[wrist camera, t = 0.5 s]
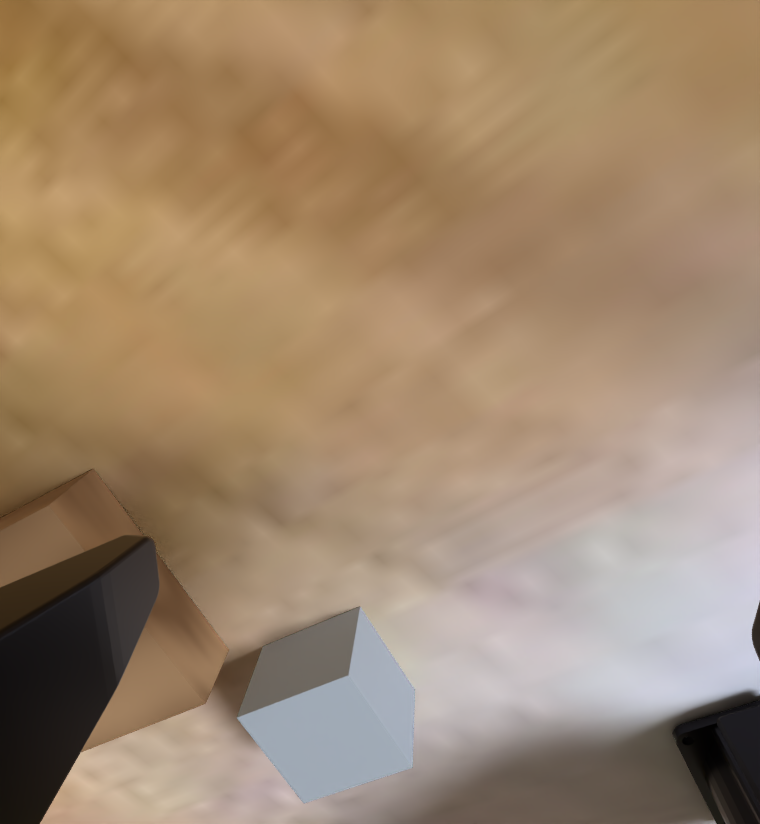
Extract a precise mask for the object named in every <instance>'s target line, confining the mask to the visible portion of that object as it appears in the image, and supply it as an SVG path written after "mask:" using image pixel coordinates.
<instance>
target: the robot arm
mask: <svg viewBox="0 0 760 824" xmlns="http://www.w3.org/2000/svg"><path fill="white" fill-rule="evenodd" d="M159 584H160V583H159V573H158V564H157V556H156V547H155V543H154V541H153V539H152V538H151V537H149V536H141V535H123V536H120V537H118V538H116V539H113V540H111V541H109V542H106V543H104V544H101V545H99V546H97V547H94V548H92V549H90V550H87V551H85V552H83V553H80V554H78V555H75V556H73V557H71V558H68V559H66V560H64V561H61V562H59V563H57V564H54V565H52V566H49V567H47V568H45V569H42V570H40V571H38V572H35V573H33V574H31V575H28V576H26V577H23V578H21V579H19V580H16V581H14V582H12V583H9V584H7V585H5V586H2V587H0V824H40V822H41V821H42V819H43V817H44V815H45V814H46V812H47V810H48V808H49V807H50V805H51V803H52V801H53V800H54V798H55V796H56V794H57V793H58V791H59V789H60V787H61V786H62V784H63V782H64V780H65V779H66V777H67V775H68V773H69V772H70V770H71V768H72V766H73V765H74V763H75V761H76V759H77V758H78V756H79V754H80V752H81V751H82V749H83V747H84V745H85V744H86V742H87V740H88V738H89V737H90V735H91V733H92V731H93V730H94V728H95V726H96V724H97V723H98V721H99V719H100V717H101V716H102V714H103V712H104V710H105V709H106V707H107V705H108V703H109V702H110V700H111V698H112V696H113V694H114V692H115V691H116V689H117V687H118V685H119V683H120V681H121V678H122V676H123V674H124V672H125V670H126V668H127V665H128V663H129V661H130V658H131V656H132V654H133V652H134V649H135V647H136V645H137V643H138V640H139V638H140V636H141V633H142V631H143V629H144V627H145V624H146V622H147V620H148V618H149V615H150V613H151V611H152V608H153V606H154V604H155V602H156V599H157V596H158V593H159ZM752 641H753V645H754V648H755V651H756V653H757V655H758V658H759V660H760V602H759V606H758V610H757V613H756V617H755V620H754V624H753V628H752ZM673 737H674V739H675V741H676V744H677V746H678V748H679V750H680V752H681V754H682V756H683V758H684V760H685V762H686V764H687V766H688V768H689V770H690V772H691V774H692V776H693V778H694V780H695V782H696V784H697V785H698V787H699V789H700V791H701V793H702V795H703V797H704V799H705V801H706V803H707V805H708V807H709V809H710V811H711V813H712V815H713V817H714V819H715V821H716V823H717V824H760V701H756V702H753V703H750V704H747V705H744V706H740V707H737V708H734V709H731V710H727V711H724V712H721V713H718V714H715V715H711V716H708V717H705V718H702V719H698V720H695V721H692V722H689V723H686V724H682V725H680V726H678V727H676V728H675V729H674V731H673Z"/></svg>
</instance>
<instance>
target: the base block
mask: <svg viewBox="0 0 760 824" xmlns="http://www.w3.org/2000/svg"><path fill="white" fill-rule="evenodd" d="M123 535H141V536H143V534H142V533H141V532H140V530H139V529H138V528H137V526H136V525H135V524H134V522H133V521H132V520H131V518H130V517H129V516H128V514H127V513H126V512H125V510H124V509H123V508H122V506H121V505H120V504H119V502H118V501H117V500H116V498H115V497H114V496H113V494H112V493H111V492H110V490H109V489H108V488H107V486H106V485H105V484H104V482H103V481H102V480H101V478H100V477H99V476H98V474H97V473H96V472H95V470H94V469H92V470H90V471H88V472H86V473H85V474H83V475H81V476H79V477H77V478H75V479H73V480H71V481H69V482H68V483H66V484H64V485H62V486H60V487H58V488H56V489H54V490H53V491H51V492H49V493H47V494H45V495H43V496H41V497H39V498H37V499H36V500H34V501H32V502H30V503H28V504H26V505H24V506H22V507H21V508H19V509H17V510H15V511H13V512H11V513H9V514H7V515H5V516H4V517H2V518H0V587H2V586H5V585H7V584H9V583H12V582H14V581H16V580H19V579H21V578H23V577H26V576H28V575H31V574H33V573H35V572H38V571H40V570H42V569H45V568H47V567H49V566H52V565H54V564H57V563H59V562H61V561H64V560H66V559H68V558H71V557H73V556H75V555H78V554H80V553H83V552H85V551H87V550H90V549H92V548H94V547H97V546H99V545H101V544H104V543H106V542H109V541H111V540H113V539H116V538H118V537H120V536H123ZM156 556H157V564H158V573H159V583H160V584H159V593H158V596H157V599H156V602H155V604H154V606H153V608H152V611H151V613H150V615H149V618H148V620H147V622H146V624H145V627H144V629H143V631H142V633H141V636H140V638H139V640H138V643H137V645H136V647H135V649H134V652H133V654H132V656H131V658H130V661H129V663H128V665H127V668H126V670H125V672H124V674H123V676H122V678H121V681H120V683H119V685H118V687H117V689H116V691H115V692H114V694H113V696H112V698H111V700H110V702H109V703H108V705H107V707H106V709H105V710H104V712H103V714H102V716H101V717H100V719H99V721H98V723H97V724H96V726H95V728H94V730H93V731H92V733H91V735H90V737H89V738H88V740H87V742H86V744H85V745H84V747H83V749H82V751H81V752H83V751H85V750H88V749H91V748H93V747H96V746H98V745H101V744H103V743H106V742H108V741H111V740H114V739H116V738H119V737H121V736H124V735H126V734H129V733H131V732H134V731H137V730H139V729H142V728H144V727H147V726H149V725H152V724H155V723H157V722H160V721H162V720H165V719H167V718H170V717H172V716H175V715H178V714H180V713H183V712H185V711H188V710H190V709H193V708H196V707H198V706H201V705H203V704H205V703H206V701H207V699H208V697H209V694H210V692H211V690H212V688H213V685H214V683H215V681H216V678H217V676H218V674H219V672H220V669H221V667H222V665H223V663H224V660H225V658H226V656H227V653H228V651H229V649H228V648H227V647H226V645H225V644H224V643H223V641H222V640H221V639H220V637H219V636H218V635H217V633H216V632H215V631H214V629H213V628H212V627H211V625H210V624H209V623H208V621H207V620H206V619H205V617H204V616H203V615H202V613H201V612H200V611H199V609H198V608H197V607H196V605H195V604H194V602H193V601H192V600H191V598H190V597H189V596H188V594H187V593H186V592H185V590H184V589H183V588H182V586H181V585H180V584H179V582H178V581H177V580H176V578H175V577H174V576H173V574H172V573H171V572H170V570H169V569H168V568H167V566H166V565H165V564H164V562H163V561H162V560H161V558H160V557H159V556H158V554H157V553H156Z"/></svg>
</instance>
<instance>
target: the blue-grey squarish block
mask: <svg viewBox="0 0 760 824" xmlns="http://www.w3.org/2000/svg"><path fill="white" fill-rule="evenodd" d="M414 706H415V689H414V687H413V686H412V684H411V683H410V681H409V680H408V678H407V677H406V675H405V674H404V672H403V671H402V669H401V668H400V666H399V665H398V663H397V662H396V660H395V659H394V657H393V656H392V654H391V652H390V651H389V649H388V648H387V646H386V645H385V643H384V642H383V640H382V639H381V637H380V636H379V634H378V633H377V631H376V630H375V628H374V627H373V625H372V624H371V622H370V620H369V619H368V617H367V616H366V614H365V613H364V611H363V610H362V608H361V607H357V608H355V609H352V610H350V611H348V612H345V613H343V614H340V615H338V616H335V617H333V618H330V619H328V620H326V621H323V622H321V623H318V624H316V625H313V626H311V627H309V628H306V629H304V630H301V631H299V632H296V633H294V634H292V635H289V636H287V637H284V638H282V639H279V640H277V641H275V642H272V643H270V644H267V645H265V646H263V648H262V650H261V653H260V656H259V658H258V661H257V664H256V667H255V669H254V672H253V675H252V677H251V680H250V683H249V686H248V688H247V691H246V694H245V696H244V699H243V702H242V705H241V707H240V710H239V713H238V715H237V719H238V720H239V722H240V723H241V724H242V725H243V727H244V728H245V729H246V730H247V732H248V733H249V734H250V736H251V737H252V738H253V739H254V741H255V742H256V743H257V744H258V746H259V747H260V748H261V750H262V751H263V752H264V753H265V755H266V756H267V757H268V759H269V760H270V761H271V762H272V764H273V765H274V766H275V767H276V769H277V770H278V771H279V773H280V774H281V775H282V776H283V778H284V779H285V780H286V781H287V783H288V784H289V785H290V787H291V788H292V789H293V790H294V792H295V793H296V794H297V796H298V797H299V798H300V799H301V801H302V802H303V803H307V802H310V801H313V800H316V799H319V798H322V797H325V796H328V795H331V794H334V793H337V792H340V791H343V790H347V789H350V788H353V787H356V786H359V785H362V784H365V783H368V782H371V781H374V780H377V779H380V778H383V777H386V776H389V775H392V774H395V773H398V772H401V771H404V770H407V769H410V768H413V738H414Z"/></svg>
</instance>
